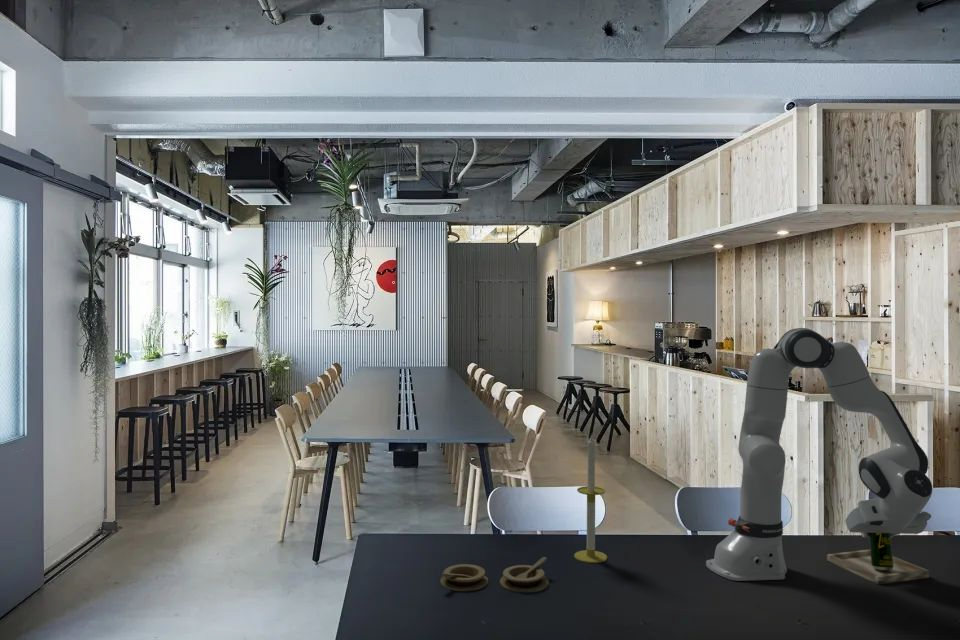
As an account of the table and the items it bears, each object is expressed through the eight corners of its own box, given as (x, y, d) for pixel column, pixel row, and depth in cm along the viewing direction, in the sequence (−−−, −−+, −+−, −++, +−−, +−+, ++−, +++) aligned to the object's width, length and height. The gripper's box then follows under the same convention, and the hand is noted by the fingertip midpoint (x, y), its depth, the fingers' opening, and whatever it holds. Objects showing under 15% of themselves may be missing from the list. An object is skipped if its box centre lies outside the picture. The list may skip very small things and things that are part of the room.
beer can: (867, 567, 194) (863, 524, 196) (885, 567, 194) (881, 524, 196) (880, 570, 188) (876, 525, 191) (898, 570, 189) (893, 526, 191)
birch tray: (878, 584, 183) (878, 577, 183) (827, 561, 201) (827, 554, 201) (928, 577, 188) (928, 570, 188) (874, 555, 206) (874, 548, 206)
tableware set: (545, 572, 193) (545, 551, 193) (551, 601, 174) (551, 578, 174) (443, 570, 194) (443, 550, 194) (437, 599, 174) (437, 576, 174)
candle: (592, 549, 210) (593, 429, 210) (614, 559, 201) (615, 434, 201) (567, 554, 205) (568, 432, 205) (588, 565, 196) (589, 437, 196)
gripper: (929, 502, 187) (908, 526, 196) (853, 500, 188) (836, 524, 198) (938, 523, 182) (917, 546, 192) (860, 521, 184) (843, 544, 193)
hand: (875, 535), depth 195 cm, fingers closed on beer can, 5 cm apart
